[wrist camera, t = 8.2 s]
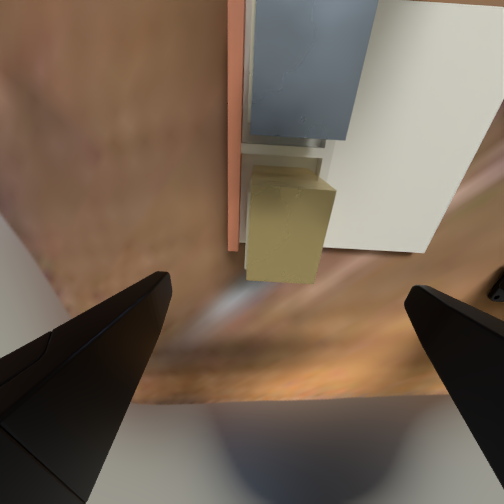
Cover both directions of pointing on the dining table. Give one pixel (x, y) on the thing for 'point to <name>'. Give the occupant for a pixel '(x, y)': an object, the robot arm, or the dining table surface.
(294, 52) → the slate tin
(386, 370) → the dining table surface
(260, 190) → the ochre tin
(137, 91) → the dining table surface
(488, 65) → the shelf board
